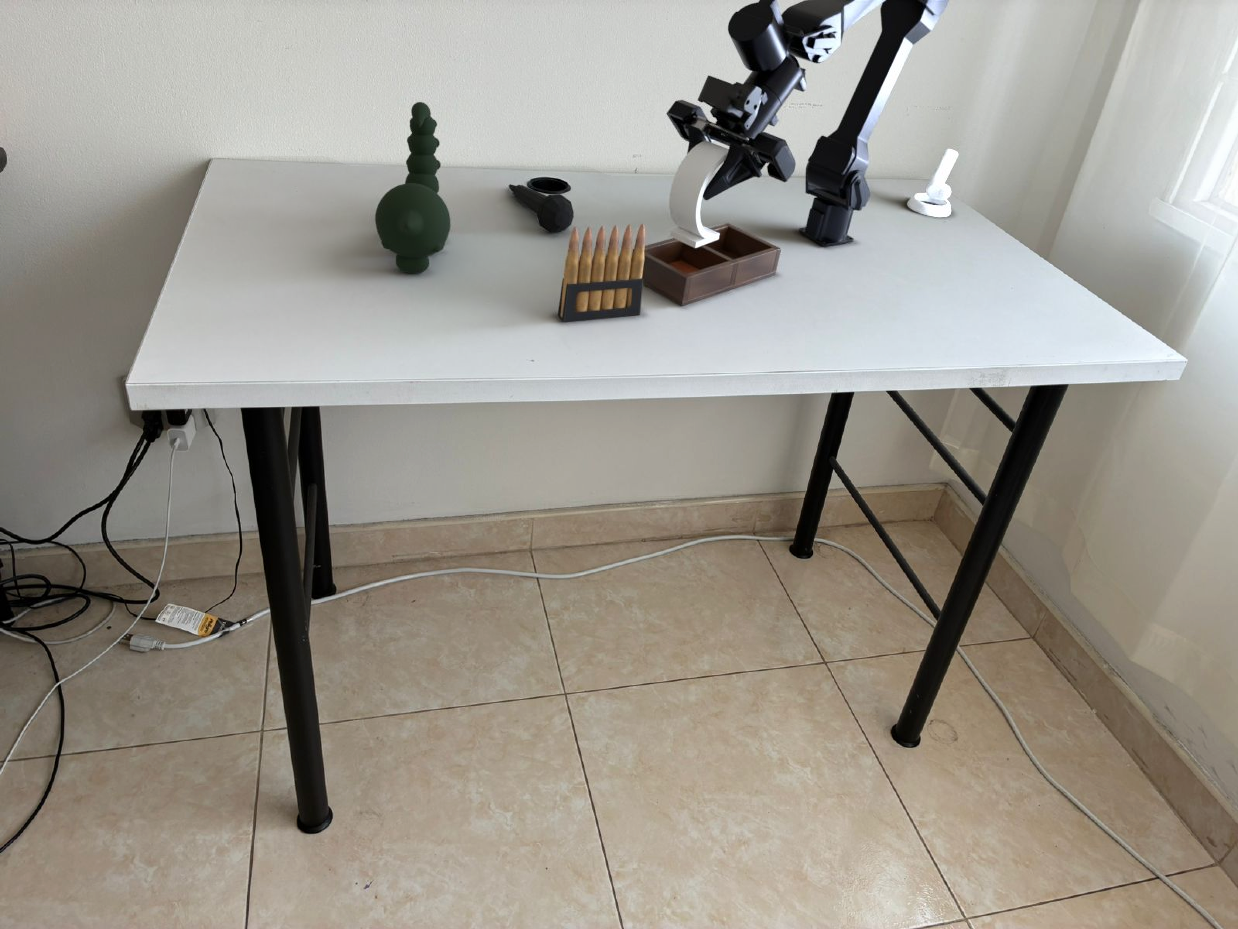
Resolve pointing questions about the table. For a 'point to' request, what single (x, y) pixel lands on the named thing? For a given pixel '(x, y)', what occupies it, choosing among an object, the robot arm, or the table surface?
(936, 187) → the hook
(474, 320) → the table surface
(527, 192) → the microphone
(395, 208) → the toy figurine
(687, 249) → the divided wooden tray
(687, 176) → the headphone stand
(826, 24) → the robot arm
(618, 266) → the ammunition clip
